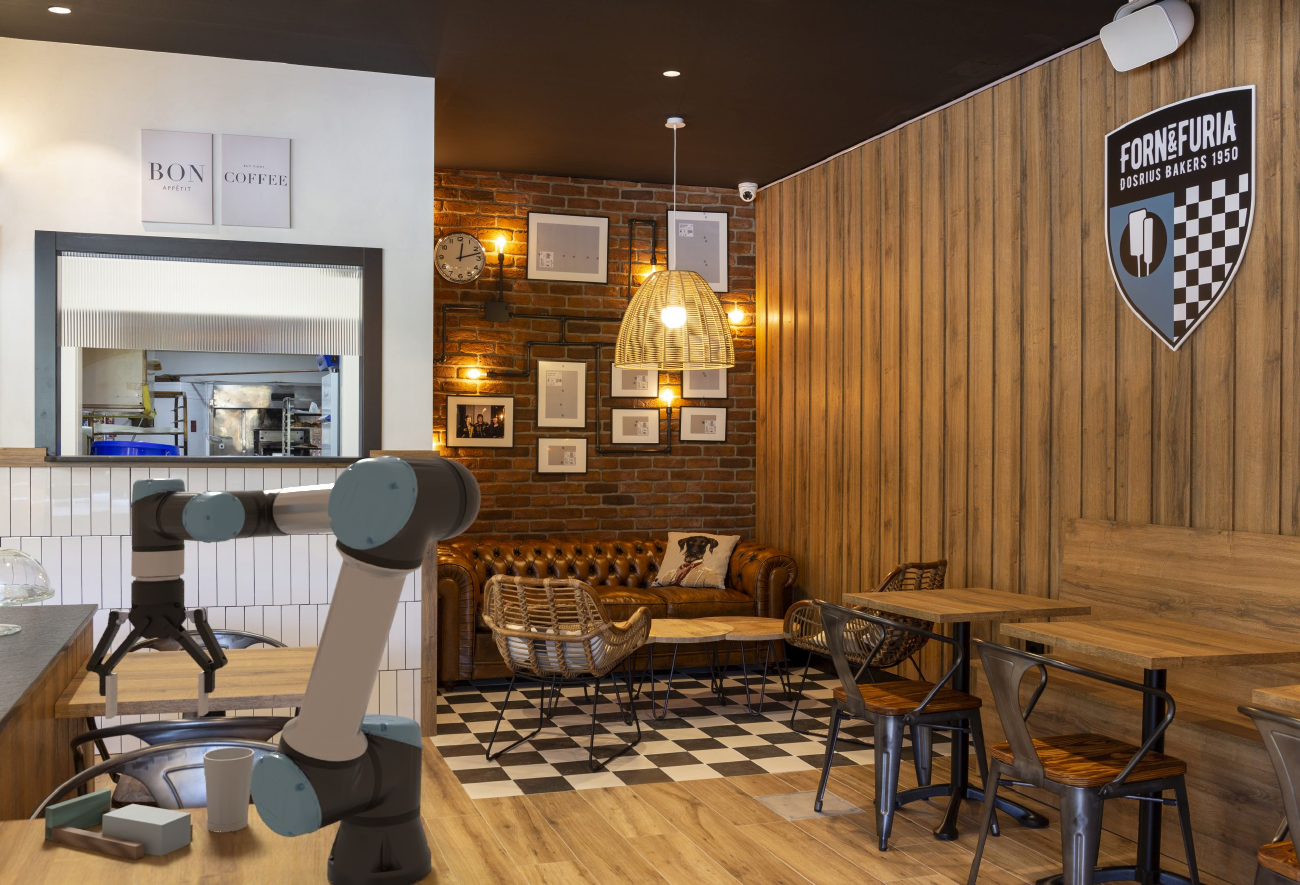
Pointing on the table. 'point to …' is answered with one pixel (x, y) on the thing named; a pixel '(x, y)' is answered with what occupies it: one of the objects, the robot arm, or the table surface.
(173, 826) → the block
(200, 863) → the table surface
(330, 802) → the robot arm
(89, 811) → the brown green u-shaped frame
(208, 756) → the cup
